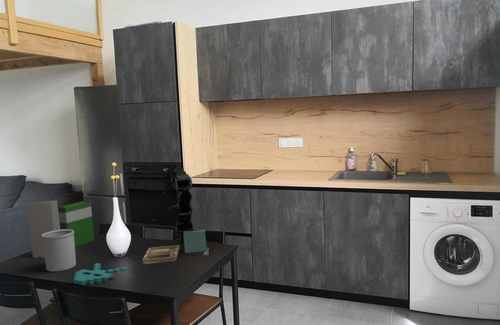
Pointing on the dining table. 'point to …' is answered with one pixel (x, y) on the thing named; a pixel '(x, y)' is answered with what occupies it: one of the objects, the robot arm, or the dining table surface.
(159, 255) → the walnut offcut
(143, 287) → the dining table surface
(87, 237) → the hardback book
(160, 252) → the pine offcut
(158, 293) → the dining table surface
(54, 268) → the utensil holder
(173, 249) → the rack
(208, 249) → the grey mat
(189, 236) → the teal square block
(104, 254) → the dining table surface
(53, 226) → the grey upright box
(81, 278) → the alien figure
